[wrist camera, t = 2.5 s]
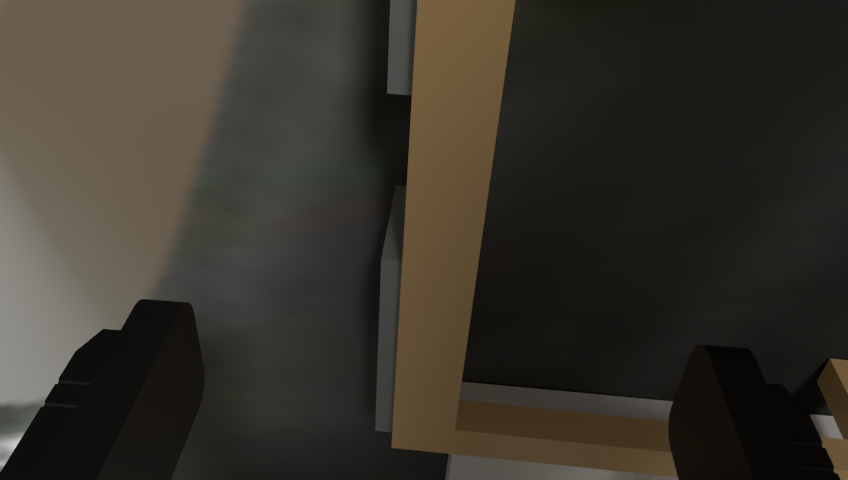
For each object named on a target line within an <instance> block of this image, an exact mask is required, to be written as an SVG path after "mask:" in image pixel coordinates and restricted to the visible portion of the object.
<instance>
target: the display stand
mask: <svg viewBox="0 0 848 480" xmlns="http://www.w3.org/2000/svg"><path fill="white" fill-rule="evenodd" d="M459 400H463V401H473V402H483V403H493V404H503V405H513V406H523V407H532V408H542V409H552V410H562V411H572V412H582V413H592V414H601V415H611V416H621V417H631V418H641V419H651V420H661V421H669V414H670V409H671V406H672V404H673V401H664V400H653V399H642V398H632V397H621V396H610V395H599V394H589V393H578V392H567V391H556V390H546V389H535V388H524V387H513V386H503V385H492V384H481V383H470V382H462V383H461V390H460V397H459ZM809 415H810V417H811V419H812V421H813V423H814V425H815V427H816V429H817V431H818V434H819V436H820V437H828V438H838V439H843V437H842V435H841V433H840V430H839V428H838V426H837V424H836V422H835V420H834V418H833V416H825V415H814V414H809ZM445 480H679V479H678V477H670V476H660V475H650V474H641V473H631V472H621V471H611V470H602V469H592V468H582V467H573V466H563V465H553V464H544V463H534V462H524V461H514V460H505V459H495V458H485V457H476V456H466V455H456V454H449V455H448V462H447V469H446V477H445Z"/></svg>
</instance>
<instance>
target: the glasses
mask: <svg viewBox="0 0 848 480" xmlns="http://www.w3.org/2000/svg"><path fill="white" fill-rule="evenodd" d="M514 7H515V0H390V23H389V52H388V80H387V93H388V94H399V95H410V96H412V103H411V120H410V138H409V155H408V172H407V186H402V185H396V186H395V191H394V196H393V201H392V206H391V211H390V217H389V222H388V227H387V232H386V237H385V242H384V247H383V252H382V257H381V278H380V307H379V335H378V363H377V392H376V420H375V431H384V432H392V447H391V448H398V449H408V450H417V451H427V452H437V453H447V454H456V455H466V456H476V457H485V458H495V459H505V460H514V461H524V462H534V463H544V464H553V465H563V466H573V467H582V468H592V469H602V470H611V471H621V472H631V473H641V474H650V475H660V476H670V477H678V475H677V472H676V468H675V464H674V460H673V457H672V453H671V449H670V444H669V436H668V422H669V421H661V420H651V419H641V418H631V417H621V416H611V415H601V414H592V413H582V412H572V411H562V410H552V409H542V408H532V407H523V406H513V405H503V404H493V403H483V402H473V401H463V400H459V397H460V390H461V383H462V376H463V369H464V362H465V355H466V348H467V341H468V334H469V326H470V319H471V312H472V305H473V298H474V291H475V284H476V277H477V270H478V263H479V256H480V248H481V241H482V234H483V227H484V220H485V213H486V206H487V199H488V192H489V185H490V178H491V170H492V163H493V156H494V149H495V142H496V135H497V128H498V121H499V114H500V107H501V100H502V92H503V85H504V78H505V71H506V64H507V57H508V50H509V43H510V36H511V29H512V22H513V15H514ZM817 383H818V385H819V387H820V390H821V392H822V394H823V396H824V398H825V400H826V402H827V405H828V407H829V409H830V411H831V413H832V415H833V418H834V420H835V422H836V424H837V426H838V428H839V430H840V433H841V435H842V437H843V439H838V438H828V437H820V438H821V440H822V447H823V448H826V450H827V452H828V455H829V457H830V459H831V461H832V463H833V465H834V473H837V474H838V476H839V478H840V480H848V360H840V359H829V361H828V362H827V364H826V366H825V368H824V369H823V371H822V373H821V374H820V376H819V378H818V380H817Z"/></svg>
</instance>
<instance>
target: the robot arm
mask: <svg viewBox="0 0 848 480" xmlns="http://www.w3.org/2000/svg"><path fill="white" fill-rule="evenodd" d="M203 388H204V366H203V361H202V355H201V350H200V344H199V338H198V333H197V327H196V321H195V316H194V311H193V308H192V306H191V304H190V303H185V302H172V301H160V300H147V299H142V300H140V301H138V302H137V303H136V305H135V306H134V308H133V310H132V311H131V313H130V315H129V317H128V318H127V320H126V322H125V324H124V325H123V327H122V329H121V330H108V329H103V330H101V331H100V332H99V333H98V334H97V335H95V336H94V337H93V338H92V339H90V340H89V341H88V342H87V343H86V344H84V345H83V346H82V347H81V348H79V349H78V350H77V351H76V352H75V353H74V355H73V357H72V358H71V360H70V361H69V363H68V365H67V366H66V368H65V370H64V371H63V373H62V374H61V376H60V378H59V382H58V384H55V386H54V387H53V389H52V390H51V392H50V394H49V395H48V397H47V398H46V400H45V405H44V407H41V408H40V410H39V411H38V413H37V414H36V416H35V418H34V419H33V421H32V422H31V424H30V426H29V427H28V429H27V431H26V432H25V434H24V435H23V437H22V439H21V440H20V442H19V443H18V445H17V447H16V448H15V450H14V451H13V453H12V455H11V456H10V458H9V459H8V461H7V463H6V464H5V466H4V468H3V469H2V471H1V472H0V480H171V478H172V475H173V472H174V470H175V467H176V465H177V462H178V460H179V457H180V455H181V452H182V450H183V447H184V445H185V442H186V439H187V437H188V434H189V432H190V429H191V427H192V424H193V422H194V419H195V417H196V414H197V412H198V409H199V406H200V403H201V399H202V394H203ZM668 436H669V444H670V449H671V453H672V457H673V460H674V464H675V468H676V472H677V475H678V479H679V480H840V478H839V476H838V474H837V473H834V465H833V463H832V461H831V459H830V457H829V455H828V452H827V450H826V448H823V447H822V440H821V438H820V436H819V434H818V431H817V429H816V427H815V425H814V423H813V421H812V419H811V417H810V415H809V412H808V411H807V410H806V409H805V408H804V407H803V406H802V405H801V404H800V403H799V402H798V401H797V400H796V398H795V397H794V396H793V395H792V394H791V393H790V392H789V391H788V390H787V389H786V388H785V387H784V386H783V385H781V384H769V383H766V382H765V380H764V377H763V375H762V373H761V370H760V368H759V366H758V363H757V361H756V359H755V357H754V355H753V353H752V352H751V351H750V350H749V349H747V348H737V347H724V346H711V345H697V346H696V347H695V348H694V350H693V352H692V354H691V356H690V359H689V362H688V364H687V367H686V370H685V372H684V375H683V377H682V380H681V383H680V385H679V388H678V391H677V393H676V396H675V398H674V401H673V404H672V406H671V409H670V414H669V422H668Z"/></svg>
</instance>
